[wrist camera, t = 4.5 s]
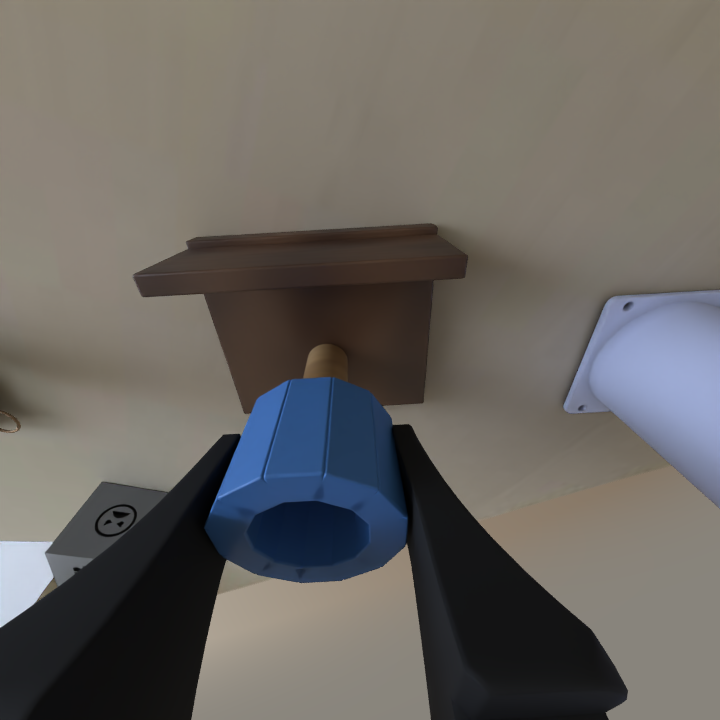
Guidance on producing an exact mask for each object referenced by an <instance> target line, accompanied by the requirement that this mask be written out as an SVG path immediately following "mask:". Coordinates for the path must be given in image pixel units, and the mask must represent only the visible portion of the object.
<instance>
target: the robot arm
mask: <svg viewBox="0 0 720 720" xmlns="http://www.w3.org/2000/svg"><path fill="white" fill-rule="evenodd" d="M627 303H628V304H627ZM625 304H627V305H626V306H625V307H624V305H625ZM623 307H624V308H623ZM563 408H564V410H565V411H566V412H567V413H570V414H575V413H592V412H609V411H612V412H613V413H614V414H615V415H616V416H617V417H619V418H620V419H621V420H622V421H623V422H624V423H625V424H626V425H627V426H628V427H630V428H631V429H632V430H633V431H634V432H635V433H636V434H637V435H638V436H640V437H641V438H642V439H643V440H644V441H645V442H646V443H647V444H648V445H650V446H651V447H652V448H653V449H654V450H655V451H656V452H657V453H658V454H660V455H661V456H662V457H663V458H664V459H665V460H666V461H667V462H668V463H670V464H671V465H672V466H673V467H674V468H675V469H676V470H677V471H679V472H680V473H681V474H682V475H683V476H684V477H685V478H686V479H687V480H688V481H690V482H691V483H692V484H693V485H694V486H695V487H696V488H697V489H699V490H700V491H701V492H702V493H703V494H704V495H705V496H706V497H707V498H709V499H710V500H711V501H712V502H713V503H714V504H715V505H716V506H717V507H718V508H720V290H705V291H688V292H671V293H654V294H637V295H620V296H614V297H612V298H610V299H609V300H608V301H607V302H606V304H605V306H604V308H603V311H602V313H601V316H600V318H599V320H598V323H597V325H596V328H595V330H594V333H593V335H592V337H591V340H590V342H589V345H588V347H587V350H586V352H585V354H584V357H583V359H582V362H581V364H580V367H579V369H578V371H577V374H576V376H575V379H574V381H573V384H572V386H571V389H570V391H569V393H568V396H567V398H566V401H565V403H564V406H563ZM392 430H393V436H394V442H395V448H396V454H397V458H398V462H399V466H400V472H401V478H402V483H403V489H404V495H405V501H406V507H407V513H408V530H407V545H408V549H409V555H410V561H411V566H412V573H413V580H414V588H415V594H416V602H417V610H418V617H419V625H420V633H421V640H422V649H423V657H424V664H425V673H426V681H427V689H428V698H429V706H430V714H431V720H609V719H608V717H607V715H606V713H605V712H607V711H609V710H611V709H612V708H614V707H616V706H618V705H620V704H621V703H623V702H624V701H625V700H627V693H628V690H627V688H626V686H625V684H624V682H623V680H622V679H621V677H620V675H619V673H618V671H617V669H616V668H615V666H614V664H613V663H612V661H611V659H610V658H609V656H608V655H607V653H606V651H605V650H604V648H603V647H602V645H601V644H600V642H599V641H598V639H597V638H596V636H595V634H594V633H593V632H592V630H591V629H590V628H589V627H587V626H586V625H585V624H584V623H583V622H582V621H580V620H579V619H578V618H577V617H576V616H575V615H573V614H572V613H571V612H570V611H569V610H568V609H566V608H565V607H564V606H563V605H562V604H561V603H559V602H558V601H557V600H556V599H555V598H554V597H553V596H552V595H551V594H549V593H548V592H547V591H546V590H545V589H544V588H543V587H542V586H541V585H540V584H538V582H536V581H535V580H534V579H533V578H532V577H531V576H530V575H529V574H528V573H527V572H526V571H524V570H523V569H522V567H521V566H520V565H519V564H518V563H516V561H515V560H514V559H513V558H512V557H511V556H509V554H508V553H507V552H506V551H505V550H504V549H503V548H501V546H500V545H499V544H498V543H497V542H496V541H495V540H494V539H493V538H492V537H491V536H490V535H489V534H488V533H487V532H486V531H485V529H484V528H483V527H482V526H481V525H480V524H479V523H478V522H477V520H476V519H475V518H474V517H473V516H472V515H471V513H470V512H469V511H468V510H467V509H466V508H465V506H464V505H463V504H462V503H461V501H460V500H459V499H458V498H457V496H456V495H455V494H454V492H453V491H452V490H451V488H450V487H449V486H448V484H447V483H446V482H445V480H444V479H443V478H442V476H441V475H440V473H439V472H438V470H437V469H436V467H435V466H434V464H433V463H432V461H431V460H430V458H429V457H428V455H427V454H426V452H425V450H424V449H423V447H422V445H421V443H420V442H419V440H418V438H417V436H416V434H415V432H414V430H413V428H412V426H410V425H409V424H404V425H392ZM240 438H241V436H240V434H228V435H223V436H222V437H221V438H220V439H219V440H218V441H217V442H216V443H215V444H214V445H213V446H212V447H211V449H210V450H209V451H208V452H207V453H206V454H205V455H204V456H203V457H202V458H201V459H200V461H199V462H198V463H197V464H196V465H195V466H194V467H193V468H192V469H191V470H190V471H189V472H188V473H187V474H186V475H185V476H184V477H183V479H182V480H181V481H180V482H179V483H178V484H177V485H176V486H175V487H174V488H173V489H172V490H171V491H170V492H169V493H168V494H167V495H166V496H165V497H164V498H163V499H162V500H161V501H160V502H159V503H158V504H157V505H156V506H155V507H154V508H153V509H151V510H150V511H149V512H148V513H147V514H146V515H145V516H144V517H143V518H142V519H141V520H140V521H139V522H137V523H136V524H135V525H134V526H133V527H132V528H131V529H130V530H128V531H127V532H126V533H125V534H124V535H123V536H121V537H120V538H119V539H118V540H117V541H116V542H114V543H113V544H112V545H111V546H110V547H108V548H107V549H106V550H105V551H103V552H102V553H101V554H100V555H98V556H97V557H96V558H95V559H93V560H92V561H91V562H90V563H88V564H87V565H86V566H84V567H83V568H82V569H81V570H79V571H78V572H77V573H76V574H74V575H73V576H72V577H70V578H69V579H68V580H67V581H65V582H64V583H62V584H61V585H60V586H58V587H57V588H56V589H54V590H53V591H52V592H50V593H49V594H48V595H46V596H45V597H43V598H42V599H41V600H39V601H38V602H36V603H35V604H34V605H32V606H31V607H29V608H28V609H26V610H25V611H24V612H22V613H21V614H19V615H18V616H17V617H15V618H14V619H12V620H11V621H9V622H8V623H6V624H5V625H3V626H2V627H0V720H191V717H192V712H193V706H194V700H195V695H196V688H197V684H198V679H199V674H200V669H201V664H202V659H203V654H204V649H205V644H206V639H207V635H208V630H209V626H210V621H211V617H212V613H213V608H214V604H215V600H216V596H217V592H218V588H219V584H220V580H221V576H222V573H223V569H224V566H225V563H226V560H227V559H225V558H223V557H222V555H220V554H219V553H218V551H217V550H216V548H215V546H214V545H213V543H212V541H211V540H210V538H209V536H208V535H207V533H206V531H205V529H204V525H205V523H206V520H207V518H208V516H209V513H210V511H211V508H212V506H213V504H214V501H215V499H216V496H217V494H218V491H219V489H220V487H221V484H222V482H223V479H224V477H225V475H226V472H227V470H228V467H229V465H230V462H231V460H232V458H233V455H234V453H235V450H236V448H237V446H238V443H239V441H240Z"/></svg>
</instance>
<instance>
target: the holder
mask: <svg viewBox="0 0 720 720" xmlns="http://www.w3.org/2000/svg"><path fill="white" fill-rule="evenodd" d="M437 233H438V227H437V226H435V225H434V224H415V225H398V226H381V227H364V228H347V229H330V230H313V231H296V232H279V233H262V234H245V235H228V236H211V237H196V238H193V239H191V240H189V241H187V242H186V244H187V246H188V249H187V250H185V251H183V252H181V253H178V254H176V255H174V256H172V257H170V258H168V259H165V260H163V261H161V262H159V263H157V264H155V265H153V266H150V267H148V268H146V269H144V270H142V271H140V272H137V273H135V274H133V279H134V281H135V283H136V285H137V287H138V290H139V292H140V294H141V296H142V297H156V296H173V295H190V294H204V296H205V299H206V302H207V305H208V308H209V311H210V314H211V317H212V320H213V323H214V326H215V329H216V331H217V334H218V337H219V340H220V343H221V346H222V349H223V352H224V355H225V358H226V361H227V364H228V367H229V370H230V372H231V375H232V378H233V381H234V384H235V387H236V390H237V393H238V396H239V399H240V402H241V405H242V408H243V411H244V413H245V414H249V413H251V412H252V410H253V407H254V405H255V403H256V400H257V399H258V398H259V397H260V396H262V395H264V394H265V393H267V392H269V391H270V390H272V389H274V388H275V387H277V386H279V385H281V384H282V383H284V382H286V381H287V380H292V379H304V378H322V377H332V378H333V377H335V378H338V379H341V380H343V381H346V382H348V383H351V384H353V385H356V386H358V387H361V388H363V389H366V390H369V391H370V393H372V394H373V395H374V397H375V398H376V399H377V400H378V402H379V403H380V404H381V405H382V406H384V405H401V404H418V403H423V402H424V390H425V378H426V366H427V353H428V341H429V329H430V317H431V305H432V293H433V281H434V280H444V279H461V278H465V275H466V268H467V260H468V255H467V254H465V253H464V252H462V251H461V250H459V249H458V248H456V247H455V246H453V245H452V244H451V243H449V242H448V241H446V240H445V239H443V238H442V237H440V236H439V235H437Z"/></svg>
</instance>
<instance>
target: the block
mask: <svg viewBox="0 0 720 720" xmlns="http://www.w3.org/2000/svg"><path fill="white" fill-rule="evenodd" d="M52 543H53V542H20V541H0V627H2V626H3V625H5V624H6V623H8V622H9V621H11V620H12V619H14V618H15V617H17V616H18V615H19V614H21V613H22V612H24V611H25V610H26V609H28V608H29V607H31V606H32V605H33V604H34V603H35V602H36V600H37V599H38V598H39V596H40V595H41V594H42V592H43V591H44V589H45V588H46V587H47V585H48V584H49V583H50V581H51V580H52V579H53V577H54V576H53V574H52V571H51V568H50V566H49V563H48V561H47V558H46V555H45V552H46V551H47V549H48V548H49V547H50V546H51V544H52Z"/></svg>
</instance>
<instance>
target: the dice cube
mask: <svg viewBox="0 0 720 720" xmlns="http://www.w3.org/2000/svg"><path fill="white" fill-rule="evenodd" d="M167 494H168V493H166V492H160V491H154V490H148V489H142V488H136V487H130V486H124V485H118V484H112V483H106V482H101V484H100V485H99V486H98V487H97V489H96V490H95V491H94V492H93V493H92V495H91V496H90V497H89V498H88V500H87V501H86V502H85V503H84V505H83V506H82V507H81V508H80V510H79V511H78V512H77V513H76V515H75V516H74V517H73V518H72V520H71V521H70V522H69V523H68V525H67V526H66V527H65V528H64V530H63V531H62V532H61V533H60V534H59V536H58V537H57V538H56V539H55V541H54V542H53V543H52V544H51V546H50V547H49V548H48V549H47V551H46V552H45V555H46V558H47V561H48V563H49V566H50V568H51V571H52V574H53V576H54V579H55V581H56V584H57V587H58V586H60V585H61V584H62V583H64V582H65V581H67V580H68V579H69V578H70V577H72V576H73V575H74V574H76V573H77V572H78V571H79V570H81V569H82V568H83V567H84V566H86V565H87V564H88V563H90V562H91V561H92V560H93V559H95V558H96V557H97V556H98V555H100V554H101V553H102V552H103V551H105V550H106V549H107V548H108V547H110V546H111V545H112V544H113V543H114V542H116V541H117V540H118V539H119V538H120V537H121V536H123V535H124V534H125V533H126V532H127V531H128V530H130V529H131V528H132V527H133V526H134V525H135V524H136V523H137V522H139V521H140V520H141V519H142V518H143V517H144V516H145V515H146V514H147V513H148V512H149V511H150V510H151V509H153V508H154V507H155V506H156V505H157V504H158V503H159V502H160V501H161V500H162V499H163V498H164V497H165V496H166V495H167Z"/></svg>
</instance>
